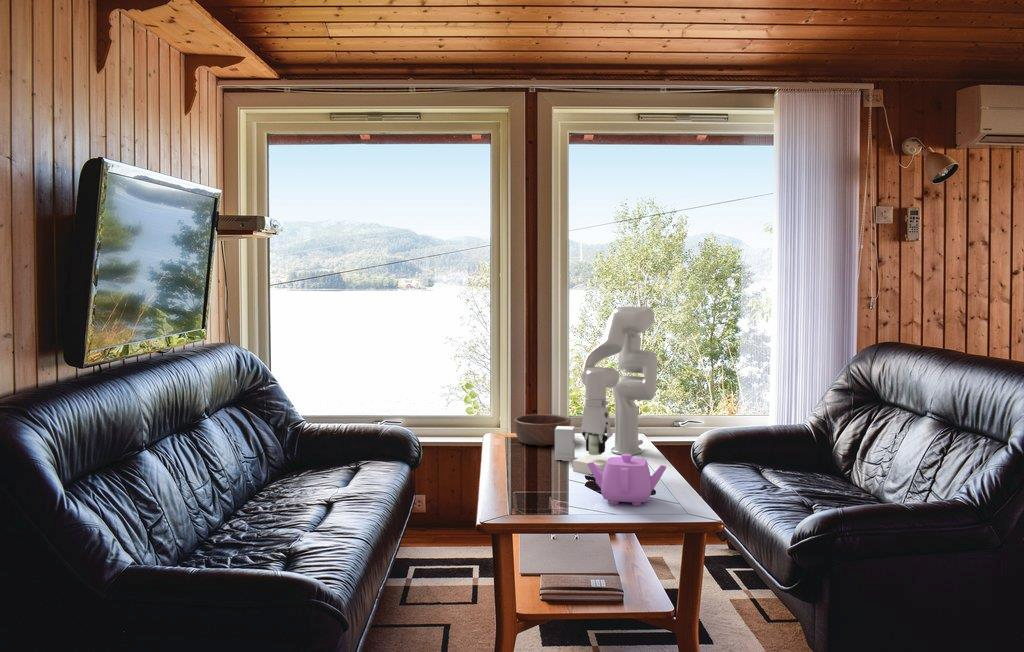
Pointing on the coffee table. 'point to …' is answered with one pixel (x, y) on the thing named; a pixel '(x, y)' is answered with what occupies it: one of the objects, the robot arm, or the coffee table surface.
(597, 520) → the coffee table surface
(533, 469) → the coffee table surface
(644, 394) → the robot arm
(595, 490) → the coffee table surface
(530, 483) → the coffee table surface
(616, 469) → the teapot
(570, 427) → the supplement box
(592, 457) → the base
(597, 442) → the green domed cylinder
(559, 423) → the wooden bowl
